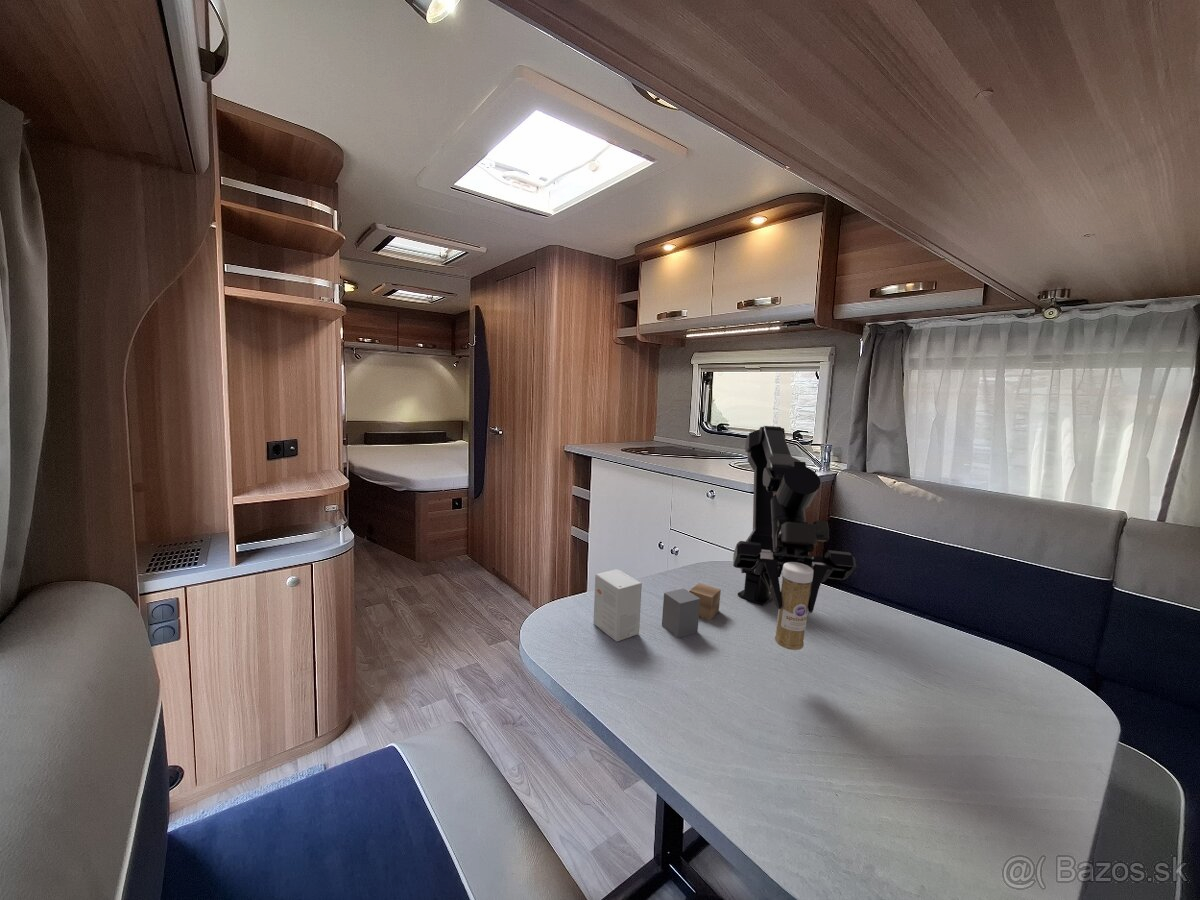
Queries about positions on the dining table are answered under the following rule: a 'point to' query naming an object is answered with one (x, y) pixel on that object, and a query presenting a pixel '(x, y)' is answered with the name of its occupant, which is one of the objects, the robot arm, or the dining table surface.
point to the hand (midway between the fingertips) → (795, 610)
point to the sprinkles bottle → (793, 605)
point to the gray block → (680, 612)
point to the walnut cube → (707, 599)
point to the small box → (617, 604)
